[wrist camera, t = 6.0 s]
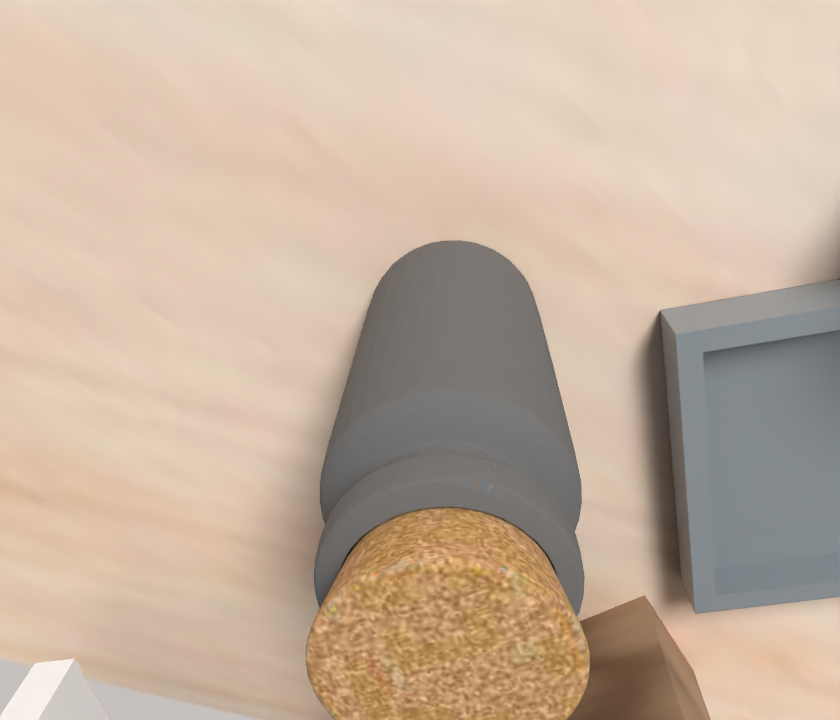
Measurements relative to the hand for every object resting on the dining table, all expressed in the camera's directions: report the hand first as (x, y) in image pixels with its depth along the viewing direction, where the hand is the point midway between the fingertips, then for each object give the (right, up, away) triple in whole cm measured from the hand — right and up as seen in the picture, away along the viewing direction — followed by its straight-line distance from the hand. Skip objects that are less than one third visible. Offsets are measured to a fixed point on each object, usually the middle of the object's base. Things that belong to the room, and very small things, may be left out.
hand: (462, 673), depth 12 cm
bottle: (+1, +7, +14) cm, 15 cm away
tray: (+15, +3, +15) cm, 21 cm away
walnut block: (+8, -8, +20) cm, 23 cm away
